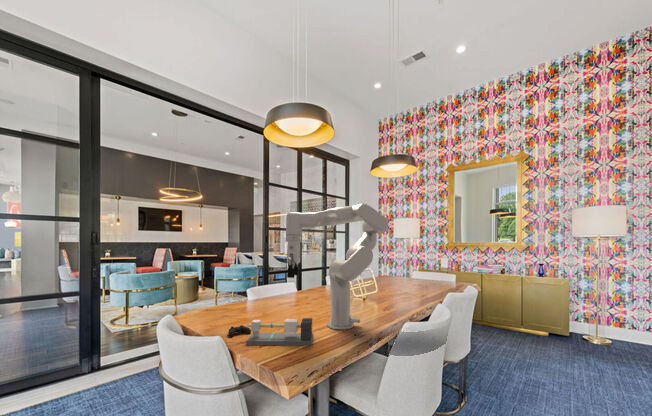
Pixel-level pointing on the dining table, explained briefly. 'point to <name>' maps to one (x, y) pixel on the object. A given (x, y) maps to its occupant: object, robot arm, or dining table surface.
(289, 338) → the board
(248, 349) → the dining table surface
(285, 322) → the sleeve
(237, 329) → the game controller
